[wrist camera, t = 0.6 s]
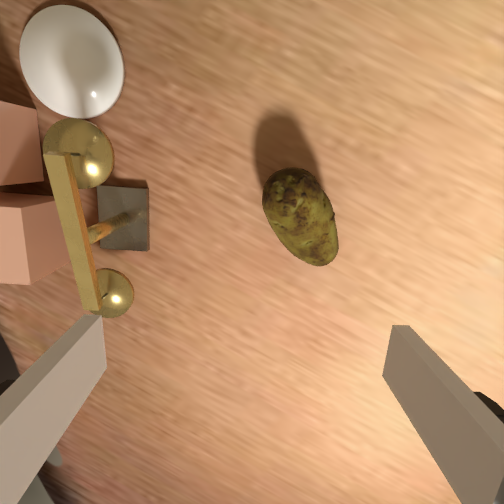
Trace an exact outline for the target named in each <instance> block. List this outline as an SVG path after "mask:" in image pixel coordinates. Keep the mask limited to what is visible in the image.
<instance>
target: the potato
mask: <svg viewBox="0 0 504 504" xmlns="http://www.w3.org/2000/svg"><path fill="white" fill-rule="evenodd" d="M262 205H263V209H264V212H265V215H266V217H267V219H268V221H269V224H270V225H271V227H272V229H273V230H274V232H275V233H276V235H277V237H278V238H279V240H280V241H281V242H282V244H283V245H284V246H285V247H286V248H287V249H288V250H289V251H290V252H291V253H292V254H293V255H294V256H296V257H297V258H299V259H301V260H303V261H305V262H307V263H309V264H311V265H314V266H324V265H327V264H329V263H330V262H331V261H332V260H333V259H334V258H335V257H336V255H337V252H338V249H339V248H338V236H337V229H336V224H335V218H334V215H335V213H334V212H333V208H332V205H331V203H330V200H329V198H328V197H327V195H326V194H325V193H324V191H323V190H322V189H321V187H320V185H319V184H318V182H317V180H316V179H315V177H314V176H313V175H312V174H311V173H309V172H308V171H306V170H304V169H299V168H286V169H282V170H280V171H278V172H276V173H274V174H273V175H272V176H271V177H270V178H269V179H268V181H267V182H266V184H265V186H264V190H263V196H262Z"/></svg>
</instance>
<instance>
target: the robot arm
mask: <svg viewBox="0 0 504 504" xmlns="http://www.w3.org/2000/svg"><path fill="white" fill-rule="evenodd" d="M106 368H107V364H106V354H105V344H104V334H103V324H102V315H86V314H84V315H83V316H82V317H81V318H80V319H79V320H78V321H77V322H76V323H75V324H74V325H73V326H72V327H71V328H70V329H69V330H67V331H66V332H65V333H64V334H63V335H62V336H61V337H60V338H59V339H58V340H57V341H56V342H55V343H54V344H53V345H52V346H51V347H50V348H49V349H48V350H47V351H46V352H45V353H44V354H43V355H42V356H41V357H40V358H39V359H38V360H37V361H36V362H35V363H34V364H32V365H31V366H30V367H29V368H28V369H27V370H26V371H25V372H24V373H23V374H22V375H21V376H20V377H19V378H18V379H17V380H6V381H5V382H3V383H1V384H0V504H17V503H18V501H19V500H20V498H21V497H22V495H23V494H24V492H25V491H26V489H27V488H28V486H29V485H30V483H31V482H32V480H33V479H34V477H35V476H36V474H37V473H38V471H39V470H40V468H41V467H42V465H43V464H44V462H45V461H46V459H47V457H48V456H49V454H50V453H51V451H52V450H53V448H54V447H55V445H56V444H57V442H58V441H59V439H60V438H61V436H62V435H63V433H64V432H65V430H66V429H67V427H68V426H69V424H70V423H71V421H72V420H73V418H74V417H75V415H76V414H77V412H78V411H79V409H80V408H81V406H82V405H83V403H84V402H85V400H86V399H87V397H88V396H89V394H90V393H91V391H92V389H93V388H94V386H95V385H96V383H97V382H98V380H99V379H100V377H101V376H102V374H103V373H104V371H105V370H106ZM382 376H383V378H384V379H385V381H386V382H387V384H388V386H389V387H390V389H391V391H392V392H393V394H394V395H395V397H396V399H397V400H398V402H399V403H400V405H401V407H402V408H403V410H404V411H405V413H406V415H407V416H408V418H409V419H410V421H411V423H412V424H413V426H414V428H415V429H416V431H417V432H418V434H419V436H420V437H421V439H422V440H423V442H424V444H425V445H426V447H427V448H428V450H429V452H430V453H431V455H432V457H433V458H434V460H435V461H436V463H437V465H438V466H439V468H440V469H441V471H442V473H443V474H444V476H445V477H446V479H447V481H448V482H449V484H450V485H451V487H452V489H453V490H454V492H455V494H456V495H457V497H458V498H459V500H460V502H461V503H462V504H504V410H503V409H502V408H501V407H500V406H499V405H498V404H497V403H496V402H494V401H493V400H491V399H490V398H488V397H487V396H485V395H484V394H482V393H481V392H473V391H472V390H471V389H470V388H469V387H468V386H467V385H466V384H465V383H464V382H463V381H462V380H461V379H460V378H459V377H458V376H457V375H456V374H455V373H454V372H453V371H452V370H451V369H450V368H449V367H448V366H447V364H446V363H445V362H444V361H443V360H442V359H441V358H440V357H439V356H438V355H437V354H436V353H435V352H434V351H433V350H432V349H431V348H430V347H429V346H428V345H427V344H426V343H425V342H424V341H423V340H422V339H421V338H420V336H419V335H418V334H417V333H416V332H415V331H414V330H413V329H412V328H411V327H410V326H406V325H392V330H391V335H390V340H389V345H388V350H387V355H386V360H385V365H384V370H383V375H382Z"/></svg>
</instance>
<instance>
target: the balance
mask: <svg viewBox="0 0 504 504" xmlns="http://www.w3.org/2000/svg"><path fill="white" fill-rule="evenodd" d="M43 157H44V161H45V165H46V168H47V172H48V176H49V180H50V184H51V187H52V191H53V195H54V199H55V203H56V206H57V210H58V214H59V218H60V222H61V226H62V229H63V233H64V237H65V241H66V245H67V248H68V252H69V256H70V260H71V264H72V267H73V271H74V275H75V279H76V283H77V287H78V290H79V294H80V298H81V302H82V306H83V309H84V310H89V311H91V312H92V313H93V314H95V315H102V317H104V318H114V317H118V316H121V315H122V314H124V313H125V312H126V311H127V310H128V309H129V308H130V306H131V305H132V303H133V300H134V289H133V286H132V284H131V282H130V281H129V279H128V278H127V277H126V276H125V275H123V274H122V273H120V272H118V271H116V270H113V269H108V268H102V269H97V270H96V269H95V265H94V260H93V255H92V251H91V246H90V245H91V244H93V243H95V242H96V241H98V240H100V248H105V249H119V250H133V251H148V250H149V249H150V248H149V189H148V188H136V187H123V186H110V185H101V184H102V183H104V182H105V181H106V180H107V179H108V178H109V176H110V175H111V173H112V170H113V167H114V161H115V157H114V150H113V147H112V144H111V142H110V140H109V138H108V137H107V135H106V134H105V133H104V132H103V131H102V130H101V129H100V128H99V127H97V126H96V125H94V124H93V123H91V122H88V121H85V120H82V119H77V118H67V119H63V120H60V121H58V122H56V123H55V124H53V125H52V126H51V127H50V128H49V130H48V131H47V133H46V135H45V137H44V141H43ZM96 186H97V199H98V216H99V223H97V224H94V225H92V226H90V227H87V228H86V223H85V218H84V214H83V209H82V205H81V200H80V195H79V191H78V189H88V188H93V187H96Z"/></svg>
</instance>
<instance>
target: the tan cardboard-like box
mask: <svg viewBox="0 0 504 504" xmlns="http://www.w3.org/2000/svg"><path fill="white" fill-rule="evenodd" d="M40 181H44V176H43V166H42V157H41V147H40V138H39V128H38V119H37V110H36V109H32V108H28V107H24V106H20V105H15V104H11V103H7V102H3V101H0V186H2V185H12V184H21V183H30V182H40Z"/></svg>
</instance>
